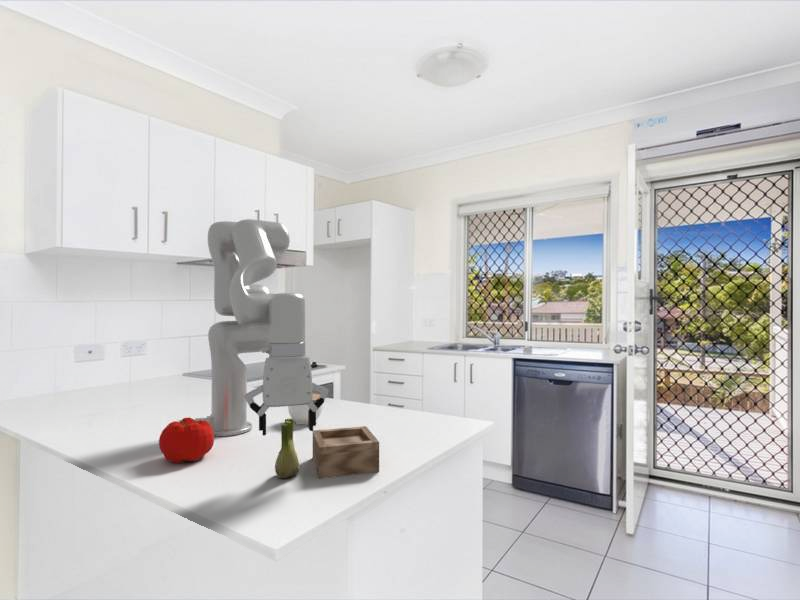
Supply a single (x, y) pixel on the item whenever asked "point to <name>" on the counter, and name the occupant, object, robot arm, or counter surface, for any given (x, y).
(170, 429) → the tomato
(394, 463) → the counter surface
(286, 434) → the fennel bulb
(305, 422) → the lidded jar
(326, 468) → the open walnut box
